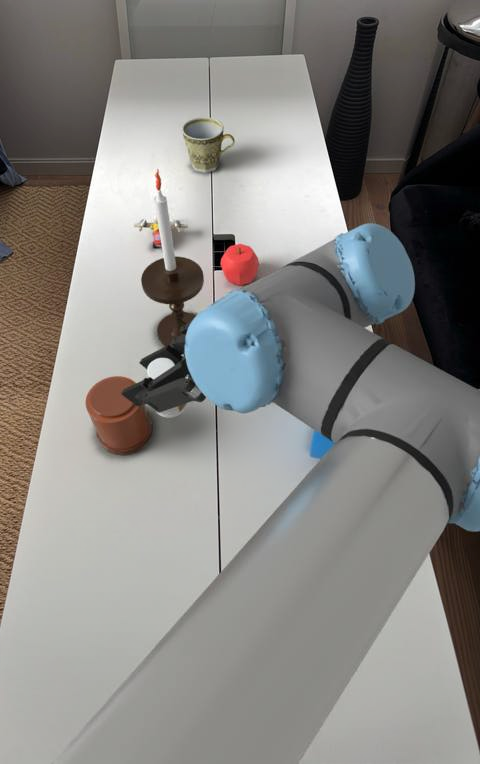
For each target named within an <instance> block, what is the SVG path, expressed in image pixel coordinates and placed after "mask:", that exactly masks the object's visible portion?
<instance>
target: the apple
mask: <svg viewBox="0 0 480 764" xmlns="http://www.w3.org/2000/svg"><path fill="white" fill-rule="evenodd" d="M259 266H260V260H259V257H258V255H257V254H256V252H255V250H254V249H253V248H252V247H251V246H250V245H246V244H242V243H238V244H234V245H230V246H229V247H228V248H227V249H226V251H225V252H224V253H223V255H222V257H221V259H220V267H221V269H222V273H223V274H224V277H225V279H226V280H227V283H230V284H233V285H236V286H243V285H246V284H247V285H248V284H251V283H253V280H255V277H256V275H257V273H258V269H259Z"/></svg>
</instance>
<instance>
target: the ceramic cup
mask: <svg viewBox="0 0 480 764" xmlns="http://www.w3.org/2000/svg"><path fill="white" fill-rule="evenodd" d="M224 129H225V127H224V125H223V123H222V122H221V121H220V120H219V119H216V118H213V117H210V116H209V117H207V116H201V117H195V118H192V119H189V120H188V121H186V122H185V123H183V126H182V127H181V132H182V136H183V140H184V143H185V146H186V150H187V153H188V157H189V161H190V164H191V166H192V168H193V169H194V170H195V172H199V173H204V174H207V173H211V172H214V171H216V170H217V169H218V167H219V165H220V158H221V155H222V154H223V153H225V152H226V151H227V150H228V149H230V148H232V147H233V146H234V145H235V143H236V142H235V141H236V140H235V137H234V136H233V135H232V134H230V133H225V134H224ZM225 139H230V140H232V143H231V144H230V145H228V146H226V147H225V148H224V149H223V150H222V144H223V141H224V140H225Z"/></svg>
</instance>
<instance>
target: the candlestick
mask: <svg viewBox="0 0 480 764" xmlns="http://www.w3.org/2000/svg"><path fill="white" fill-rule="evenodd" d="M154 177H155V179H156V180H155V188H156V196H154V198H153V202H154V207H155V213H156V214H157V220H158V226H159V232H160V238H161V244H162V247H161V249H162V256H163V257H162V258H159V259H156V260H155V261H153V262H151V263H150V264H148V265H147V266H146V268H145V269H144V270H143V272H142V274H141V278H140V281H141V287H142V290H143V292H144V294H145V295H146V296H147V297H148V298H149V299H150V300H152V301H154V302H156V303H159V304H162V305H168V306H169V310H170V311H171V313H170V314H168V315H166V316H164V317H163V318H162V319H161V320H160V321H159V323H158V324H157V326H156V327H157V329H156V334H157V338H158V340H159V342H160V343H161V344H162V345H163V347H165V346H167V345H170V344H171V342H172V340H173V339H174V338H175V337H177V336H181V335H182V333H181V332H180V330H181V327H182V326H184V325H185V324H187V323H189V322H191V321H192V320H193V319H194V318H195V317H196V316H197V314H194V313H192V312H187V311H184V308H185V302H188V301H190V300H192V299H194V298H195V297H197V295H198V294H200V292H201V291H202V289H203V287H204V284H205V282H204V281H205V277H204V271H203V269H202V267H201V266H200V264H199V263H197V262H196V261H194V260H192V259H190V258H187V257H185V256H178V255H177V256H176V255H175V248H174V242H173V241H174V239H173V233H172V228H171V227H170V222H171V221H170V220H171V219H170V213H169V206H168V199H167V196H165V195H164V194H163V193H162V189H161V188H162V178H161V176H160V171H159V168H157V169H156V172H155V174H154ZM156 214H155V215H156Z"/></svg>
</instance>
